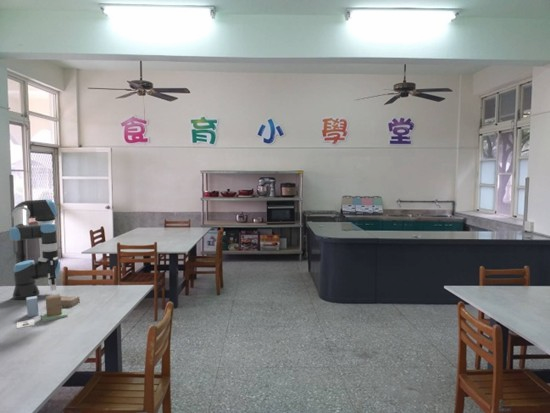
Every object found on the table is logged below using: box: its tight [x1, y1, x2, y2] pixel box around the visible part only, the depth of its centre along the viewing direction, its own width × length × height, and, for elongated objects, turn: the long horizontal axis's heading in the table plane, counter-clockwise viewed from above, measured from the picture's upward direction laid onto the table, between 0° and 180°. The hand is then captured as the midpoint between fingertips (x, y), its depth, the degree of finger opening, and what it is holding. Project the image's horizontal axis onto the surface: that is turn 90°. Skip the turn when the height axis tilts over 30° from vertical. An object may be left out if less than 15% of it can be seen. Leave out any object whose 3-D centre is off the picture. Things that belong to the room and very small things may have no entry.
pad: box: [40, 308, 68, 322], centre depth 221 cm, size 12×12×1 cm
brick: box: [60, 295, 81, 308], centre depth 241 cm, size 17×8×5 cm, turn 84°
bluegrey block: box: [25, 296, 39, 318], centre depth 224 cm, size 5×5×10 cm
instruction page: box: [16, 318, 35, 329], centre depth 210 cm, size 10×8×1 cm
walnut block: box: [45, 293, 63, 317], centre depth 221 cm, size 7×7×10 cm
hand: (52, 287), depth 220 cm, fingers open, 13 cm apart
